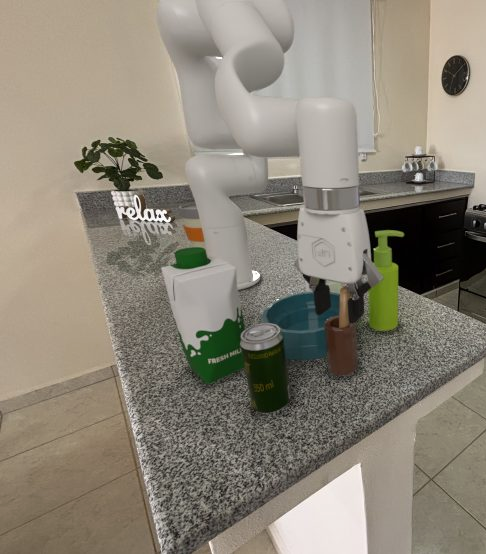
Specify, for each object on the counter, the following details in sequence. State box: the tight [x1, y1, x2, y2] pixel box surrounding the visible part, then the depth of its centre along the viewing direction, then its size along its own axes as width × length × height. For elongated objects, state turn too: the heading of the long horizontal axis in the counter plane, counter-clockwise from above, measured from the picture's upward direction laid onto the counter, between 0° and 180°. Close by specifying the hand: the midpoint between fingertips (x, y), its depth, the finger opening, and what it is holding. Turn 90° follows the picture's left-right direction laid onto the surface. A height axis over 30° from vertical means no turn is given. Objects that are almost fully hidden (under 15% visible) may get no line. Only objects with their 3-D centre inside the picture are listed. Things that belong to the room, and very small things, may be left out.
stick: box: [339, 285, 351, 328], centre depth 55 cm, size 2×2×15 cm
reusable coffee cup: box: [178, 202, 208, 257], centre depth 111 cm, size 13×13×15 cm
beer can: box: [240, 323, 292, 415], centre depth 49 cm, size 5×5×12 cm
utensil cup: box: [324, 316, 358, 377], centre depth 57 cm, size 5×5×9 cm
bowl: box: [260, 291, 340, 361], centre depth 66 cm, size 17×17×6 cm
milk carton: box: [160, 246, 246, 385], centre depth 54 cm, size 9×9×20 cm
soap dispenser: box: [367, 229, 405, 332], centre depth 68 cm, size 6×7×20 cm
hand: (339, 314), depth 55 cm, fingers open, 5 cm apart
